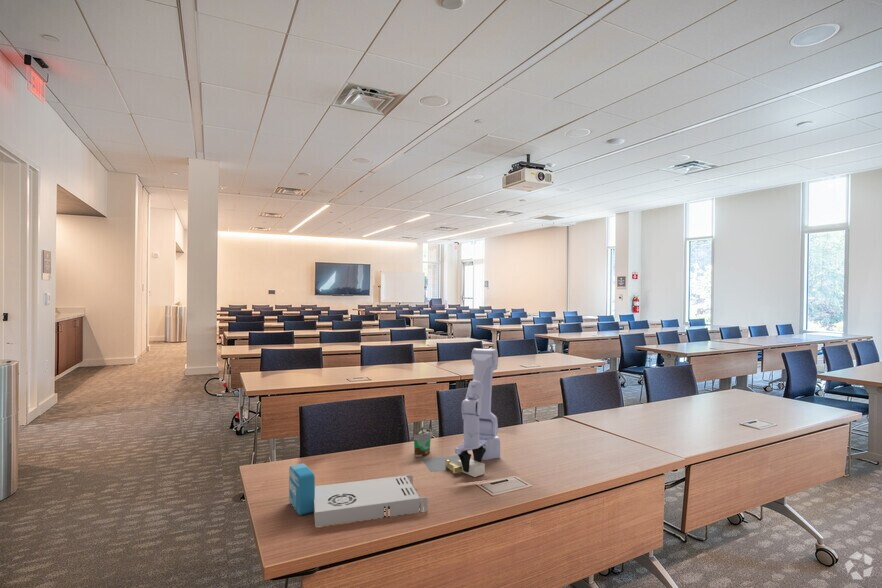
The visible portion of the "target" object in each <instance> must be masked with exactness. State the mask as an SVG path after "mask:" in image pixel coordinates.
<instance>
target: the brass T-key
mask: <svg viewBox="0 0 882 588" xmlns="http://www.w3.org/2000/svg"><path fill="white" fill-rule="evenodd" d="M445 468H446V469H450V470H449V471H452V473H453V474H458V473H463V472H462V466H460V465H459V466H457V465H456V464H454V463H452V462H451V460H450V459H446V460H445Z"/></svg>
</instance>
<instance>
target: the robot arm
mask: <svg viewBox="0 0 882 588" xmlns="http://www.w3.org/2000/svg"><path fill="white" fill-rule="evenodd" d="M470 355H471V362H472V365H473V366H474V367H473V373H472V374H473V375H472V381H469V383H468V385H467V386H468V387H467V391H466V394H465V398H464V399H462V401H461V408H460V410H461V416H462V417H461V418H462V420H463V441H462V444H460V445H458V446H457V447H456V446H455V448H454V454H455V455H458V456H459V458H460V460H461V463H462V466H463V470H464V471H465V472H469V463H470V459H472V455H473V460H475V461H478V462H481V463H482V461H483V460H484V461H485V460H486V461H487V460H492V459H498V458H499V459H501V441H500V437H499V436H498V430H499V425H498V417H497V415H495V414H494V413H493V412H492V391H493V375H494V371H496V370H497V369H498V366H499V352H498V350H497V348H476V347H473V349H472V352H471V354H470ZM470 451H472V454H471V453H469V452H470Z"/></svg>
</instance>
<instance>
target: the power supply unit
mask: <svg viewBox="0 0 882 588" xmlns="http://www.w3.org/2000/svg"><path fill="white" fill-rule="evenodd" d="M413 484H414V476H413V474H405V475H398V476H389V477H382V478H381V477H380V478H372V479H365V480H364V479H363V480H358V481H357V480H356V481H350V482H349V481H347V482H340V483H331V484H324V485H315V499H314V512H313V518H314V528H315V527H318V526H325V525H332V524H340V523H346V524H349V523H348V522H353V523H356V522H355V521H360V522H362V521H361V520H367V521H370V520H369V519H373V520H379V519H378V518H380V519H384V518H386V517H387V518H388V517H390V516H394V517H398V516H397V515H401V516H405V515H404V514H407V515H413V513H414V514H419V513H423V512H424V513H426V511H427V512H428V508H429V507H428V504H429V503H428V497H427V496H422V497H421V496H420V494H419V492H418V491H417V489H416V488H415V486H414V485H413ZM384 508H386V509H385V510H386V511H384ZM419 508H420V512H419ZM388 509H390V516H388ZM422 510H424V511H422ZM384 512H386V517H384ZM418 512H419V513H418ZM383 517H384V518H383ZM340 525H341V524H340Z"/></svg>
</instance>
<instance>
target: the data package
mask: <svg viewBox="0 0 882 588" xmlns="http://www.w3.org/2000/svg"><path fill="white" fill-rule="evenodd" d="M288 471H289V472H288V473H289V475H288V479H289V480H288V492H289V493H288V495H289V497H288V498H289V499H288V500H289V504H290V503H291V504H292V505H291V504H290V505H291V506H293V507H294V508H293V507H292V508H293V510H296V511H297V512H296V511H295V512H296V513H297V515H298V514H299V515H298V516H303V514H304V515H307V513H308V514H310V513H314V499H315V486H316V482H315V481H316V478H315V477H316V475H315V473H314V472H313V471H312V470H311V469H310V467H308V465H306V463H299V464H294V465H290V466H289V467H288Z"/></svg>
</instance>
